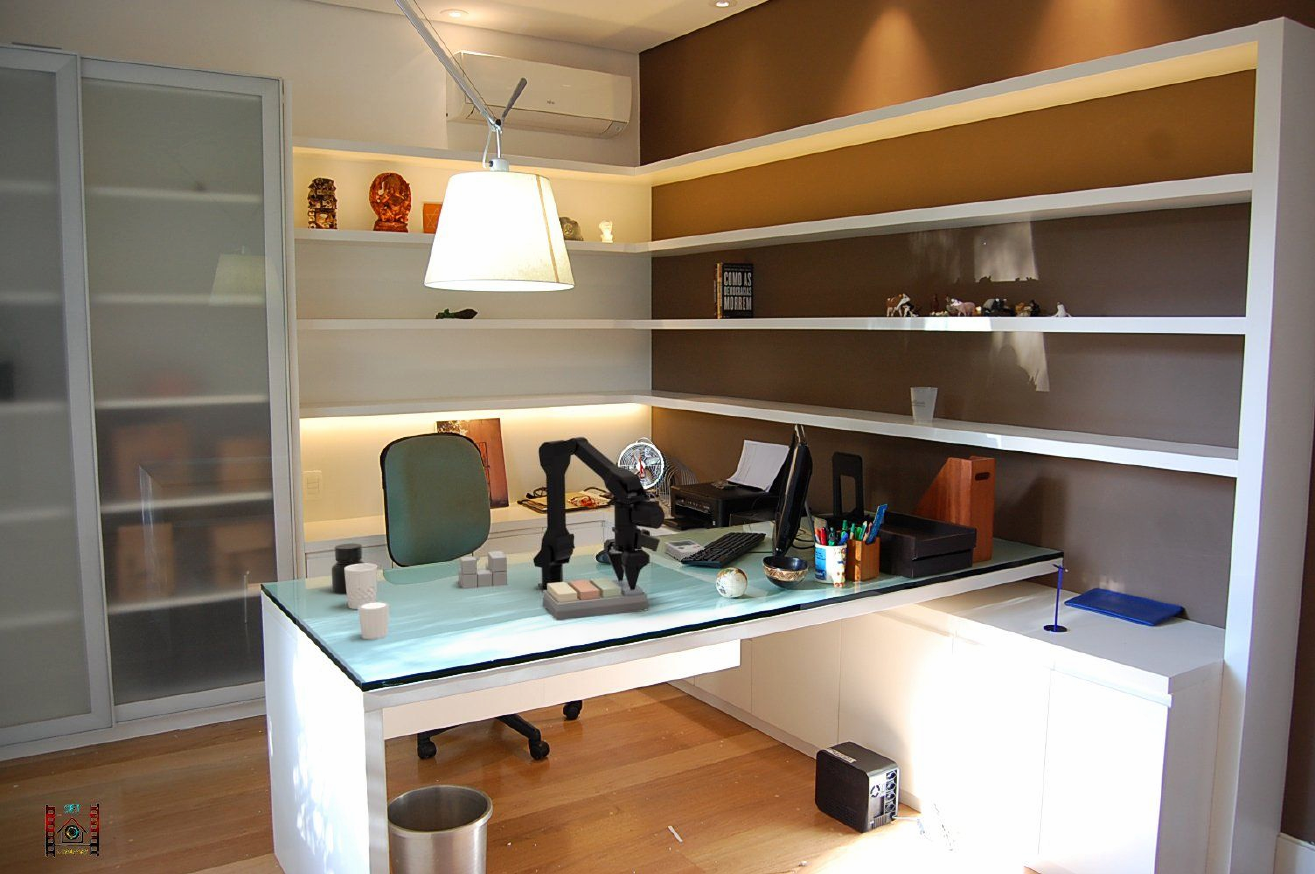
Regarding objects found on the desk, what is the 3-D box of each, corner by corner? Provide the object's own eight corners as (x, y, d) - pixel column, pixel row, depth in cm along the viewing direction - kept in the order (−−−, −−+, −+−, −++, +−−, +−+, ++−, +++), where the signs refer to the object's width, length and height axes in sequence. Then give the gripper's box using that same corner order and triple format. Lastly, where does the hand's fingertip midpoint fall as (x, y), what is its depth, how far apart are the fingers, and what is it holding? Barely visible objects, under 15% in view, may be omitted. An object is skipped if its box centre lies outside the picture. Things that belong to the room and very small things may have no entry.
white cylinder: (362, 631, 220) (361, 601, 220) (393, 630, 221) (392, 600, 220) (355, 640, 214) (354, 610, 213) (387, 639, 214) (386, 609, 213)
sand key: (547, 592, 239) (547, 583, 239) (565, 590, 241) (564, 581, 241) (558, 604, 229) (558, 594, 229) (577, 602, 231) (577, 592, 230)
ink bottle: (375, 587, 258) (373, 544, 257) (352, 596, 250) (350, 551, 249) (347, 584, 262) (345, 541, 261) (324, 592, 254) (322, 547, 253)
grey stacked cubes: (499, 575, 272) (499, 547, 271) (507, 585, 260) (506, 556, 260) (456, 578, 268) (456, 551, 267) (462, 589, 257) (462, 560, 256)
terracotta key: (568, 590, 241) (568, 581, 241) (586, 588, 243) (586, 579, 243) (581, 601, 231) (581, 592, 231) (599, 599, 233) (599, 590, 232)
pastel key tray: (543, 604, 241) (542, 590, 240) (629, 595, 249) (629, 581, 248) (557, 620, 228) (557, 604, 227) (647, 609, 236) (647, 594, 235)
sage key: (590, 588, 243) (590, 579, 243) (607, 586, 245) (607, 577, 245) (603, 599, 233) (603, 589, 233) (621, 597, 235) (621, 587, 234)
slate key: (611, 589, 245) (611, 580, 245) (628, 587, 247) (628, 578, 247) (625, 600, 235) (625, 591, 235) (642, 598, 237) (642, 589, 236)
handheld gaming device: (681, 563, 284) (681, 551, 284) (664, 553, 298) (664, 541, 298) (708, 561, 287) (708, 549, 287) (690, 551, 301) (690, 539, 301)
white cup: (384, 603, 243) (383, 564, 242) (365, 611, 236) (364, 571, 235) (358, 600, 246) (357, 562, 245) (339, 608, 239) (337, 569, 238)
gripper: (669, 528, 233) (669, 590, 235) (643, 515, 251) (643, 573, 252) (626, 532, 229) (626, 595, 231) (602, 518, 247) (603, 577, 248)
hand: (626, 584), depth 241 cm, fingers open, 9 cm apart
